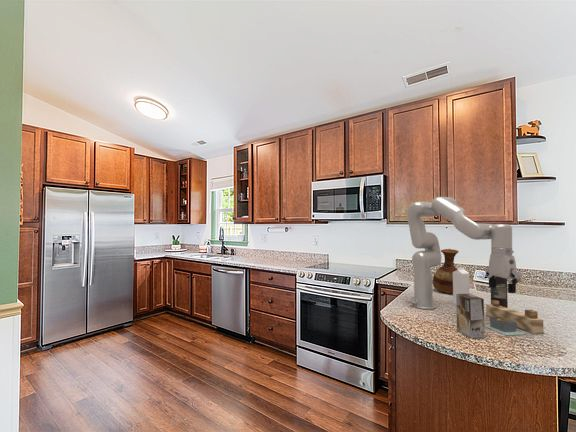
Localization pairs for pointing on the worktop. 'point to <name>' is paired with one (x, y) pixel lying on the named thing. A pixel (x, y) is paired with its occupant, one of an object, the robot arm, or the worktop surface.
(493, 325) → the lever cap
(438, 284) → the brown ceramic vase
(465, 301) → the coffee box
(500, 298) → the wine bottle
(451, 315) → the worktop surface
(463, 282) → the milk
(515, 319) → the body
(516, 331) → the mat
